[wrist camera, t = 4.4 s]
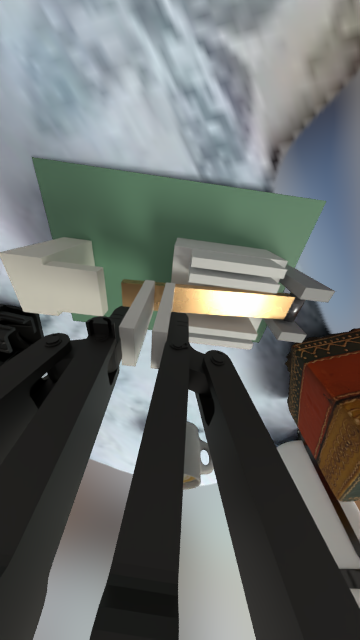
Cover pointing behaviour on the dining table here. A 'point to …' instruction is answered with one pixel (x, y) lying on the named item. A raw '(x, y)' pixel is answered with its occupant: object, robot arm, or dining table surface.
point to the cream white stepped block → (57, 277)
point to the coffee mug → (194, 458)
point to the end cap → (17, 331)
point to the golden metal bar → (220, 300)
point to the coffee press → (326, 510)
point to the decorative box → (329, 406)
